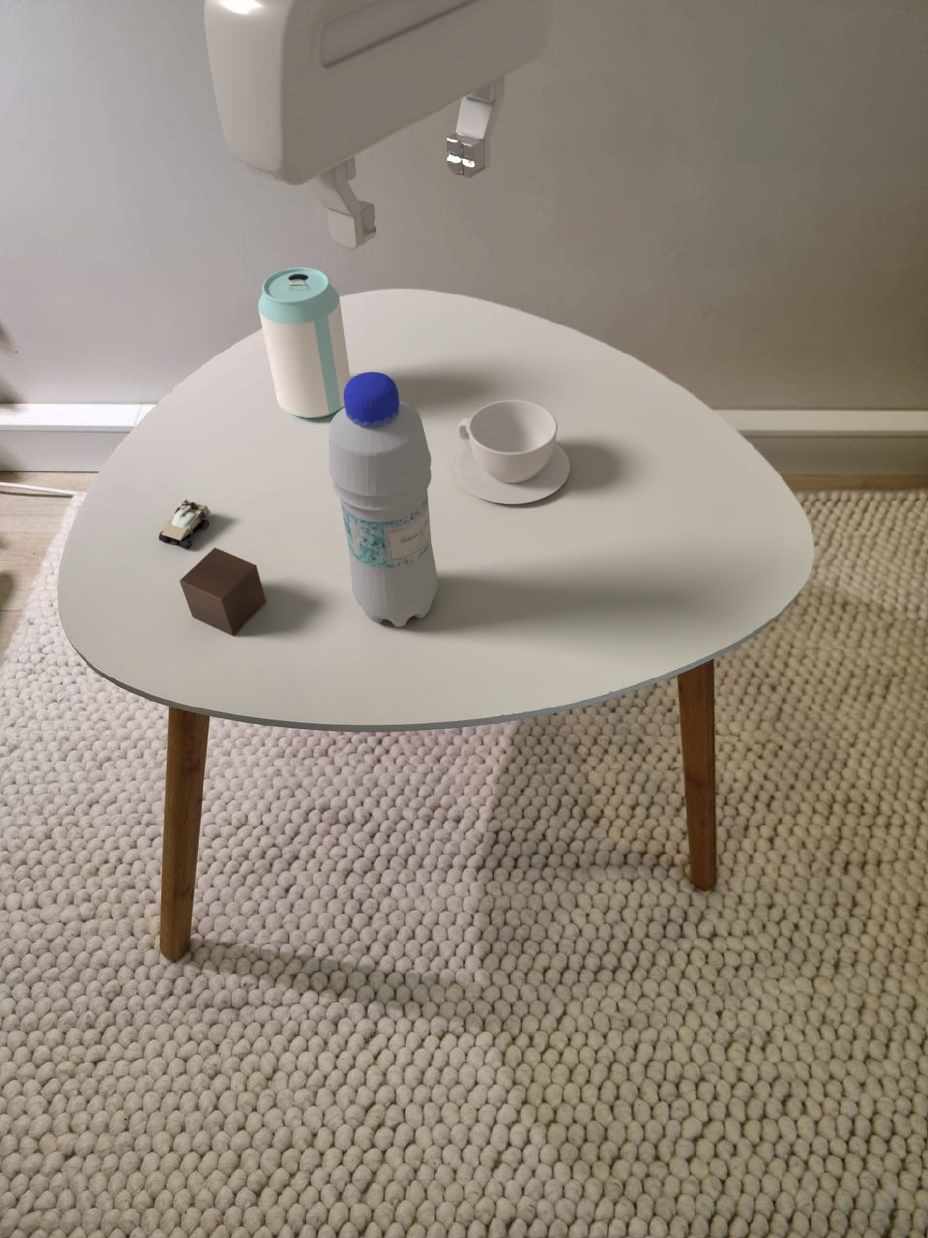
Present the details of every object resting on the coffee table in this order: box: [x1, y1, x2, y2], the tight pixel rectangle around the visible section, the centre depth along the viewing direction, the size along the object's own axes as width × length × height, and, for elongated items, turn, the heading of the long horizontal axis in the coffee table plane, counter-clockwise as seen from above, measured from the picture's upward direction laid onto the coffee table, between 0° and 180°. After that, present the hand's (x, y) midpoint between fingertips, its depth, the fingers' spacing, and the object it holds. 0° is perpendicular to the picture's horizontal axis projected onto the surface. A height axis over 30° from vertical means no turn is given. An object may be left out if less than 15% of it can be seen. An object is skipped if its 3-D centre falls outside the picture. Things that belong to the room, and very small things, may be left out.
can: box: [257, 266, 352, 419], centre depth 86 cm, size 7×7×12 cm
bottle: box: [328, 371, 438, 628], centre depth 65 cm, size 7×7×20 cm
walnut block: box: [179, 547, 267, 637], centre depth 71 cm, size 4×4×4 cm
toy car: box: [158, 498, 211, 550], centre depth 78 cm, size 3×4×2 cm, turn 156°
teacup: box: [453, 399, 571, 505], centre depth 81 cm, size 10×10×5 cm
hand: (414, 204), depth 49 cm, fingers open, 8 cm apart
